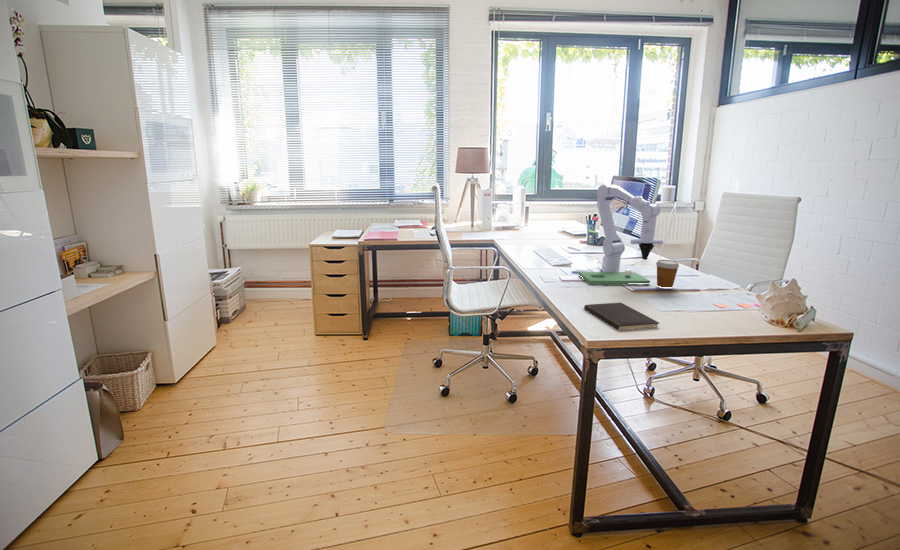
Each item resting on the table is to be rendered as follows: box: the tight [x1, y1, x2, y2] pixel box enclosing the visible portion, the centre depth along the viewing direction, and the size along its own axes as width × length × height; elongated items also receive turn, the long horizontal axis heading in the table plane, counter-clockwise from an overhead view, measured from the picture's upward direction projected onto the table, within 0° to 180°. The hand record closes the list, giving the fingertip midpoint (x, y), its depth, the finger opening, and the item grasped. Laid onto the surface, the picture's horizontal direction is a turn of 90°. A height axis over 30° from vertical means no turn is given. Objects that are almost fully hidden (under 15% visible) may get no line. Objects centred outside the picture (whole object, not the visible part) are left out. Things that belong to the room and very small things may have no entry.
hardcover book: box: [583, 302, 660, 331], centre depth 174 cm, size 16×23×2 cm
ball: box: [624, 268, 633, 277], centre depth 225 cm, size 4×4×4 cm
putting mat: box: [578, 271, 651, 286], centre depth 225 cm, size 16×28×2 cm, turn 93°
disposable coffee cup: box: [655, 259, 680, 288], centre depth 213 cm, size 10×10×12 cm
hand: (644, 259), depth 223 cm, fingers closed
